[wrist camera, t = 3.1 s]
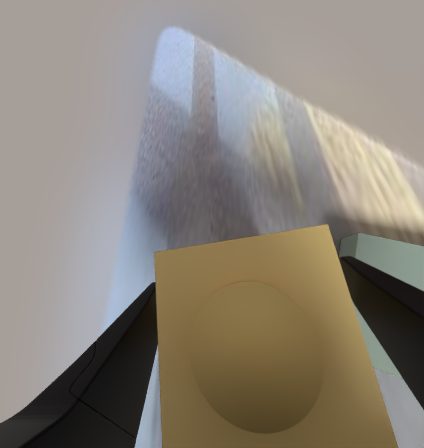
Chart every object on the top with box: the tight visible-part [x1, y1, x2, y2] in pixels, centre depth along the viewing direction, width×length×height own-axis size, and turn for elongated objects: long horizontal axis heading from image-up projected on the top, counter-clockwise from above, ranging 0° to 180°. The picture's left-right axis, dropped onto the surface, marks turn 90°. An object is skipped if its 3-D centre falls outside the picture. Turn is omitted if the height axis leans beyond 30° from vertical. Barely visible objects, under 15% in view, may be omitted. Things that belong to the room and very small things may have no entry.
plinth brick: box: [338, 233, 424, 379], centre depth 12 cm, size 8×8×2 cm
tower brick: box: [154, 224, 398, 448], centre depth 9 cm, size 4×4×13 cm
